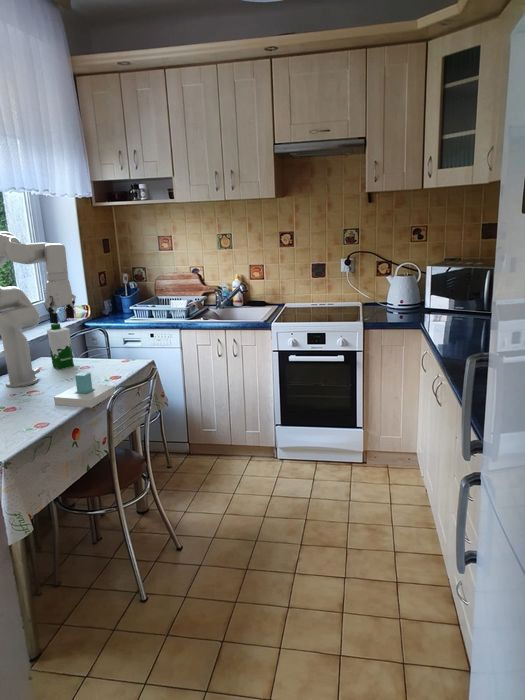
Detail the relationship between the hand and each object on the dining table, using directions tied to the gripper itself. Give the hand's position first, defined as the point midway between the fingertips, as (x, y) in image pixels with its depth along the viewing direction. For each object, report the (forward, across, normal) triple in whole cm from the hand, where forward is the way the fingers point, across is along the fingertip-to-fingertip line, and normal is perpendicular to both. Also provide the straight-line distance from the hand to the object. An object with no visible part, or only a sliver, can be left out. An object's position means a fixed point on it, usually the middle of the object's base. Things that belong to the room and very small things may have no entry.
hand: (62, 320), depth 207 cm
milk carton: (+30, -28, -25) cm, 48 cm away
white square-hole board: (+28, +5, +14) cm, 32 cm away
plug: (+28, +8, +14) cm, 32 cm away
